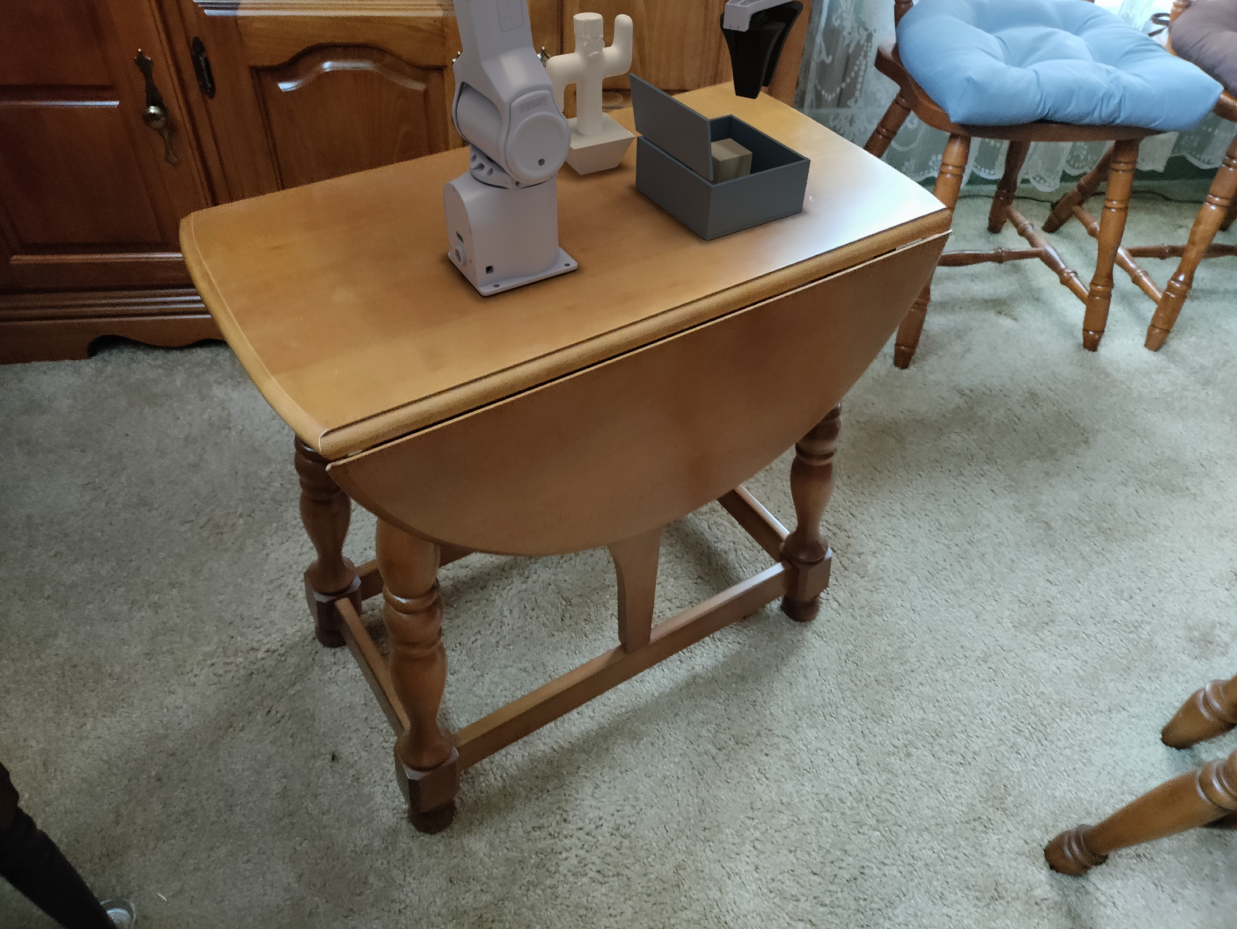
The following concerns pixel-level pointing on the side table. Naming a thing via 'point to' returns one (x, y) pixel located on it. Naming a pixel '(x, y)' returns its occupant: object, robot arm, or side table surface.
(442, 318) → the side table surface
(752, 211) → the carton
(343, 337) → the side table surface
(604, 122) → the figurine
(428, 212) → the side table surface
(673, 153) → the flap
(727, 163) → the block
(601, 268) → the side table surface
